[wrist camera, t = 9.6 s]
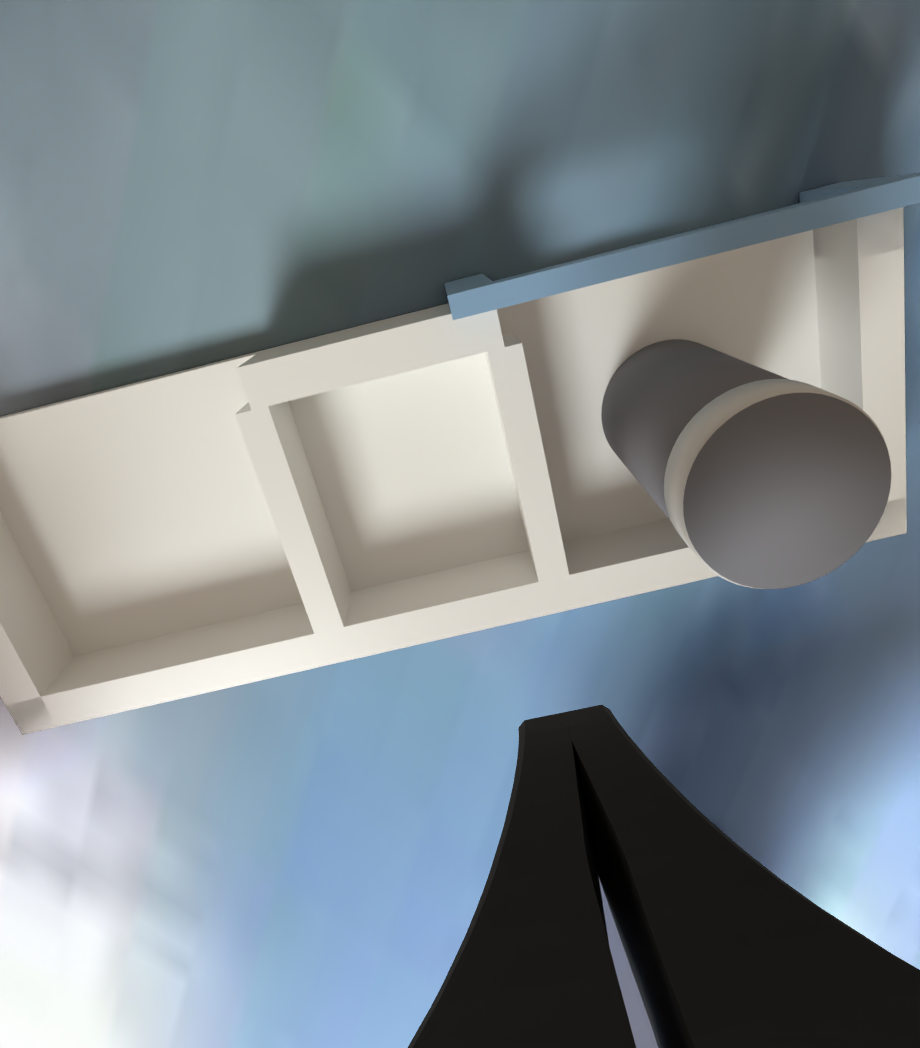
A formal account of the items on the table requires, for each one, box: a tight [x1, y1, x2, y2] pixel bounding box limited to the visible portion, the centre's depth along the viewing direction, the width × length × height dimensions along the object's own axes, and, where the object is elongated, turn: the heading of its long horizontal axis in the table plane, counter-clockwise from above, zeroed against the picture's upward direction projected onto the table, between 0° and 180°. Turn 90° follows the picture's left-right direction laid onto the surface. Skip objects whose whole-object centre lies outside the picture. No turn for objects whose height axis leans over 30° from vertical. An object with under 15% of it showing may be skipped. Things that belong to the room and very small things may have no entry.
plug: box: [601, 339, 891, 589], centre depth 16 cm, size 4×4×7 cm
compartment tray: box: [0, 173, 920, 735], centre depth 18 cm, size 8×24×4 cm, turn 103°
